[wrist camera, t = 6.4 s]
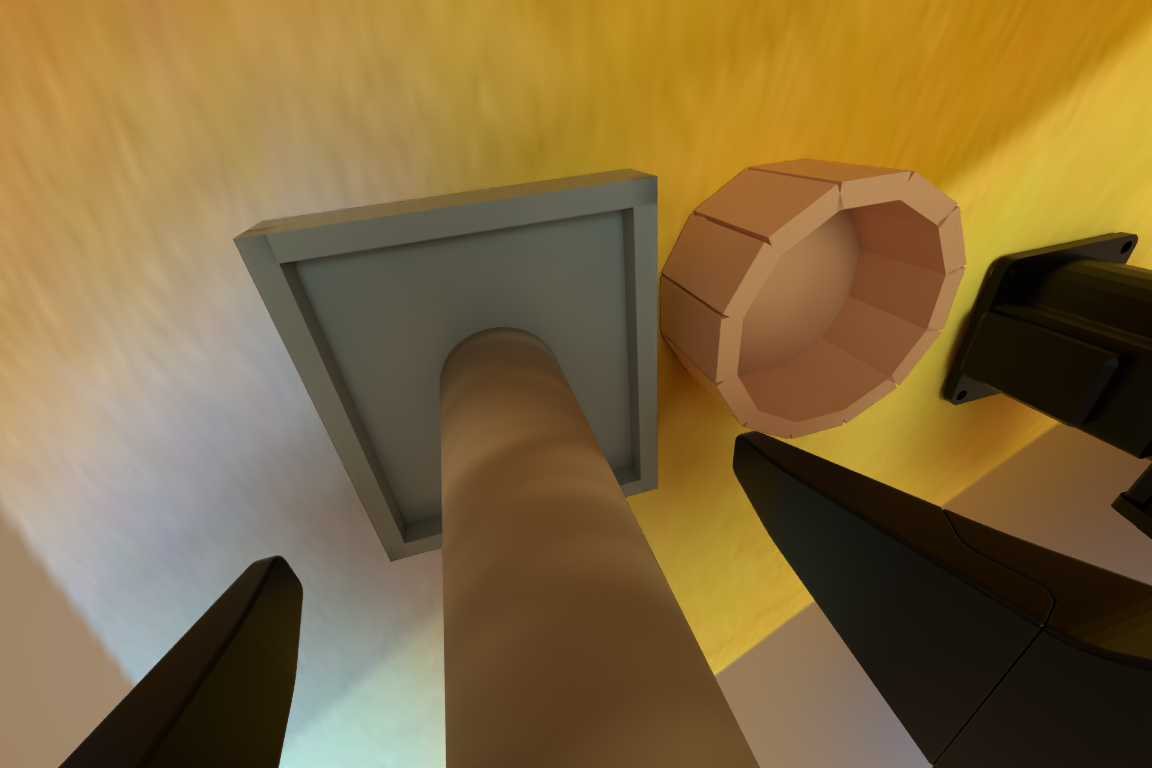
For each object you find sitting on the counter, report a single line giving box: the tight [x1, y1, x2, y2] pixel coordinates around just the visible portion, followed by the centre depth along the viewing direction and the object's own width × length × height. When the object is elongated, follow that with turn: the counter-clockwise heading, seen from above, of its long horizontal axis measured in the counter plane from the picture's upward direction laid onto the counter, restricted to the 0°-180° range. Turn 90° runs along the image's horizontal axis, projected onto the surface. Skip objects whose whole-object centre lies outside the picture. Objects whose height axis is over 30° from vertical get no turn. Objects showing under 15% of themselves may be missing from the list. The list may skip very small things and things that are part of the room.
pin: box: [440, 327, 760, 768], centre depth 9 cm, size 3×3×10 cm
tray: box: [233, 169, 657, 561], centre depth 13 cm, size 9×10×2 cm
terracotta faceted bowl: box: [661, 159, 966, 439], centre depth 13 cm, size 7×7×4 cm
